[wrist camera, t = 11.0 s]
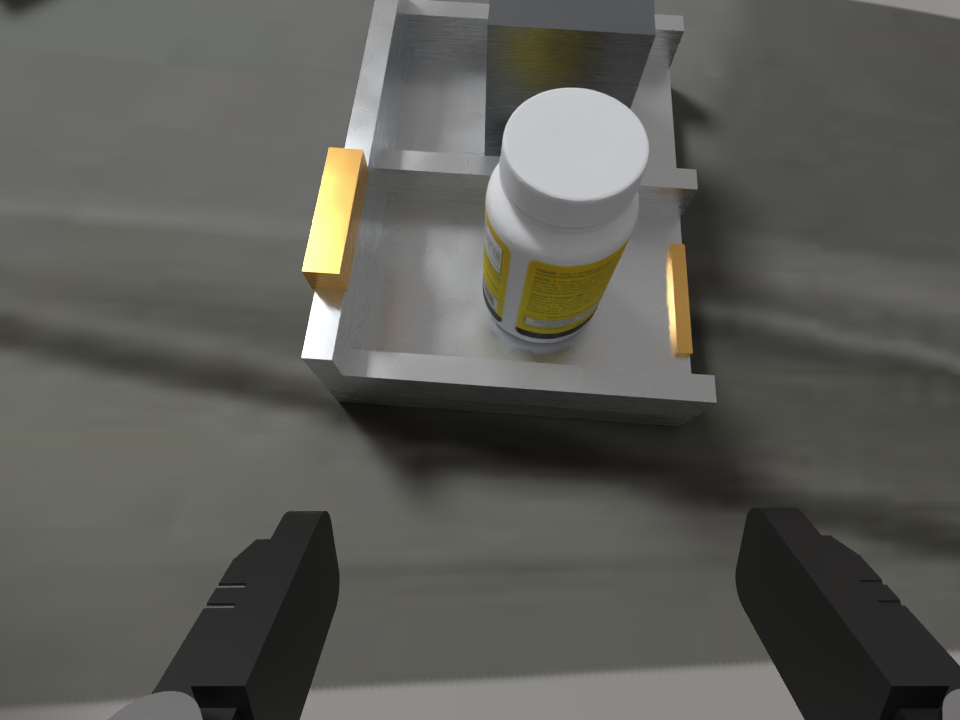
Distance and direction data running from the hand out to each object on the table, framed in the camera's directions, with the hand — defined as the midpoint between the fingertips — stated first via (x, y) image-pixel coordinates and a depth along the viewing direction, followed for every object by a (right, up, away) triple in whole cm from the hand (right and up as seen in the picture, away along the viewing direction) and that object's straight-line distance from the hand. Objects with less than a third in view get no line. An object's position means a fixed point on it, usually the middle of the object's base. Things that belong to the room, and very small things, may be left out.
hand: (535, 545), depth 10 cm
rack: (+1, +10, +15) cm, 18 cm away
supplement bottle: (+1, +6, +12) cm, 14 cm away
